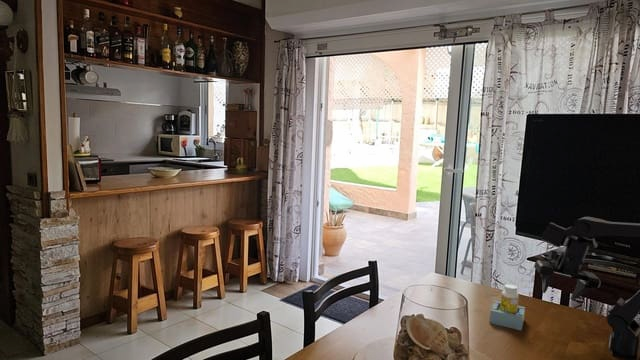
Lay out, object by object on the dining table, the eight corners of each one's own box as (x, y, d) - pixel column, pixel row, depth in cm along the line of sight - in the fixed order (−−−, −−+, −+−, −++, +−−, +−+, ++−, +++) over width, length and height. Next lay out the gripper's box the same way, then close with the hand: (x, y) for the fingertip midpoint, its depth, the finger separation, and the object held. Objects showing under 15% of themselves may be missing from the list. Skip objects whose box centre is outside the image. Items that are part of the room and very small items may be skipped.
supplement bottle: (520, 316, 146) (522, 289, 145) (505, 316, 146) (508, 289, 144) (511, 309, 152) (513, 283, 150) (496, 309, 151) (499, 283, 150)
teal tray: (523, 319, 151) (525, 307, 151) (521, 330, 142) (522, 317, 142) (493, 312, 156) (494, 300, 155) (489, 322, 147) (490, 310, 147)
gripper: (593, 251, 145) (576, 291, 149) (536, 237, 146) (521, 277, 151) (609, 265, 134) (590, 308, 138) (548, 251, 136) (531, 293, 140)
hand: (557, 296), depth 142 cm, fingers open, 9 cm apart
